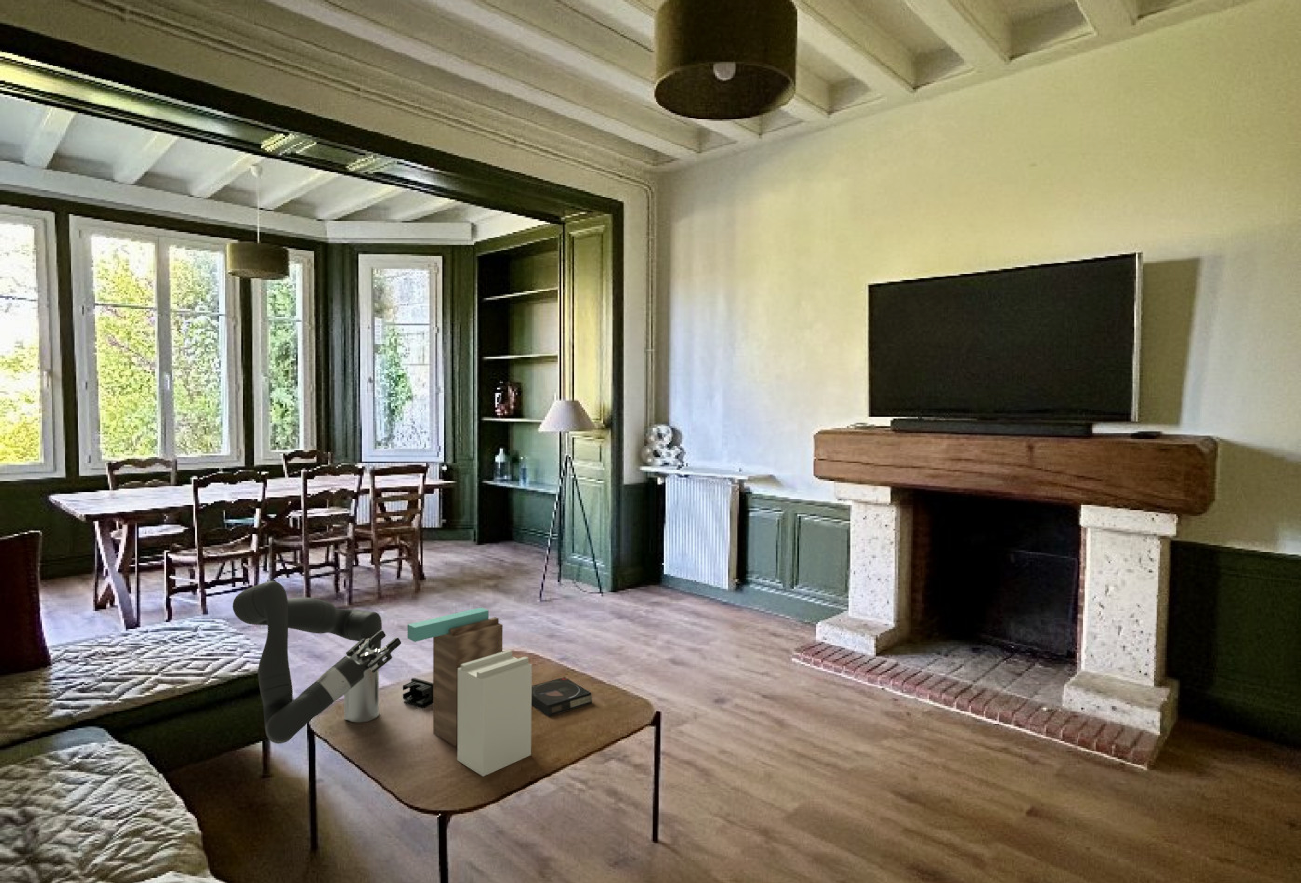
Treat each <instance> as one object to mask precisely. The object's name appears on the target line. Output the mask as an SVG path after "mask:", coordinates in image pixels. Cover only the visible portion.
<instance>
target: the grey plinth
mask: <svg viewBox="0 0 1301 883" xmlns="http://www.w3.org/2000/svg"><path fill="white" fill-rule="evenodd" d="M532 670H533V664H531V663H529V657H528V656H521V657H519V658H517V657H515V656H513V651H512V650H511V649H507V650H502V652H500V653H497V654H493V655H490V656H487V657H483V658H480V659H477V660H474V661H470V662H467V663H464V664H461V667H460V668H458V746H457V751H456V753H457V757H456V758H457V760H456V761H458V762H459V763H461V764H463V765H464V766H466V767H467V768H468V769H470V770H472V771H473V772H475V773H477V774H478V775H479V776H481V777H485V776H487V775H490V774H492V773H494V772H496V771H498V770H500V769H501V770H502V769H503V768H505V767H507V766H510V765H512V764H514V763H516V762H519V761H521V760H524V759H525V758H527V757H530V756H532V705H531V699H532V686H533V684H532V683H533V681H532V678H533V676H532V674H533V673H532V672H533V671H532Z"/></svg>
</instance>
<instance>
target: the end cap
mask: <svg viewBox="0 0 1301 883" xmlns="http://www.w3.org/2000/svg"><path fill="white" fill-rule="evenodd" d="M407 689H409V690H408V691H406V692H403V693H402V699H403V703H404V704H405V703H406V704H405V705H410V706H413V707H415V708H419V709H422V710H423V709H427V707H430V706H433V682H430V681H426V680H423V679H420V678H416V677H412V678H411V679H410V682H408V683H405V684H403V685H402V691H405V690H407Z"/></svg>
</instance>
